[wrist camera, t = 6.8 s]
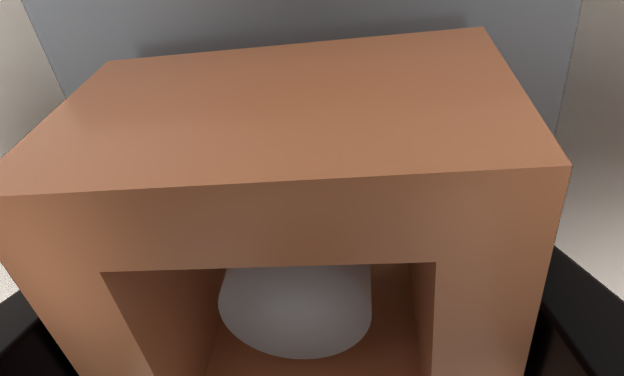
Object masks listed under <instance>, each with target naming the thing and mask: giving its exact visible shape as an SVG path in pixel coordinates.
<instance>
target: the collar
mask: <svg viewBox="0 0 624 376" xmlns="http://www.w3.org/2000/svg"><path fill="white" fill-rule="evenodd" d="M572 166H573V165H572V164H571V162H570V161H569V159H568V158H567V156H566V154H565V153H564V151H563V150H562V148H561V147H560V145H559V144H558V142H557V140H556V139H555V137H554V136H553V134H552V133H551V131H550V130H549V128H548V126H547V125H546V123H545V122H544V120H543V119H542V117H541V116H540V114H539V112H538V111H537V109H536V108H535V106H534V105H533V103H532V102H531V100H530V98H529V97H528V95H527V94H526V92H525V91H524V89H523V88H522V86H521V85H520V83H519V81H518V80H517V78H516V77H515V75H514V74H513V72H512V71H511V69H510V67H509V66H508V64H507V63H506V61H505V60H504V58H503V57H502V55H501V53H500V52H499V50H498V49H497V47H496V46H495V44H494V43H493V41H492V39H491V38H490V36H489V35H488V33H487V32H486V30H485V29H484V27H483V26H482V27H471V28H460V29H449V30H438V31H427V32H416V33H405V34H395V35H384V36H373V37H362V38H351V39H340V40H329V41H318V42H308V43H297V44H286V45H275V46H264V47H253V48H242V49H231V50H220V51H210V52H199V53H188V54H177V55H166V56H155V57H144V58H133V59H122V60H112V61H107V62H106V63H105V64H104V65H103V66H102V67H101V68H100V69H98V70H97V71H96V72H95V73H94V74H93V75H92V76H91V77H90V78H89V79H87V80H86V81H85V82H84V83H83V84H82V85H81V86H80V87H79V88H78V89H77V90H75V91H74V92H73V93H72V94H71V95H70V96H69V97H68V98H67V99H66V100H64V101H63V102H62V103H61V104H60V105H59V106H58V107H57V108H56V109H55V110H54V111H52V112H51V113H50V114H49V115H48V116H47V117H46V118H45V119H44V120H43V121H41V122H40V123H39V124H38V125H37V126H36V127H35V128H34V129H33V130H32V131H31V132H29V133H28V134H27V135H26V136H25V137H24V138H23V139H22V140H21V141H20V142H18V143H17V144H16V145H15V146H14V147H13V148H12V149H11V150H10V151H9V152H8V153H6V154H5V155H4V156H3V157H2V158H1V159H0V262H1V263H2V265H3V266H4V267H5V269H6V270H7V272H8V273H9V275H10V276H11V278H12V279H13V281H14V282H15V283H16V285H17V286H18V288H19V289H20V291H21V292H22V294H23V295H24V296H25V298H26V299H27V301H28V302H29V304H30V305H31V307H32V308H33V309H34V311H35V312H36V314H37V315H38V317H39V318H40V320H41V321H42V322H43V324H44V325H45V327H46V328H47V330H48V331H49V333H50V334H51V335H52V337H53V338H54V340H55V341H56V343H57V344H58V346H59V347H60V349H61V350H62V351H63V353H64V354H65V356H66V357H67V359H68V360H69V362H70V363H71V364H72V366H73V367H74V369H75V370H76V372H77V373H78V375H79V376H523V375H524V371H525V367H526V362H527V358H528V354H529V350H530V345H531V341H532V337H533V332H534V328H535V324H536V320H537V315H538V311H539V307H540V303H541V298H542V294H543V290H544V286H545V281H546V277H547V273H548V269H549V264H550V260H551V256H552V251H553V247H554V243H555V239H556V234H557V230H558V226H559V222H560V217H561V213H562V209H563V205H564V200H565V196H566V192H567V188H568V183H569V179H570V175H571V170H572ZM355 264H370V267H371V302H372V319H371V324H370V327H369V329H368V331H367V333H366V334H365V335H364V337H363V338H362V339H361V340H360V341H359V342H358V343H357V344H355V345H354V346H353V347H351V348H349V349H347V350H346V351H343V352H341V353H339V354H336V355H332V356H329V357H324V358H318V359H290V358H283V357H278V356H274V355H270V354H267V353H264V352H261V351H259V350H257V349H255V348H252V347H251V346H249V345H247V344H245V343H244V342H242V341H241V340H240V339H238V338H237V337H236V336H235V335H234V334H233V333H232V332H231V331H230V330H229V329H228V328H227V327H226V325H225V324H224V322H223V320H222V318H221V316H220V313H219V309H218V298H219V293H220V290H221V287H222V283H223V280H224V277H225V273H226V270H227V268H254V267H288V266H321V265H355Z"/></svg>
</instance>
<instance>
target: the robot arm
mask: <svg viewBox="0 0 624 376" xmlns="http://www.w3.org/2000/svg"><path fill="white" fill-rule="evenodd" d="M0 376H79V375H78V373H77V372H76V370H75V369H74V367H73V366H72V364H71V363H70V362H69V360H68V359H67V357H66V356H65V354H64V353H63V351H62V350H61V349H60V347H59V346H58V344H57V343H56V341H55V340H54V338H53V337H52V335H51V334H50V333H49V331H48V330H47V328H46V327H45V325H44V324H43V322H42V321H41V320H40V318H39V317H38V315H37V314H36V312H35V311H34V309H33V308H32V307H31V305H30V304H29V302H28V301H27V299H26V298H25V296H24V295H23V294H22V292H21V291H20V290H19V291H17V292H16V293H14V294H13V295H11V296H10V297H9V298H7V299H6V300H4V301H3V302H1V303H0ZM523 376H624V301H623V300H622V299H620V298H619V297H618V296H617V295H615V294H614V293H613V292H612V291H611V290H609V289H608V288H607V287H606V286H604V285H603V284H602V283H601V282H599V281H598V280H597V279H596V278H594V277H593V276H592V275H591V274H589V273H588V272H587V271H586V270H584V269H583V268H582V267H581V266H579V265H578V264H577V263H576V262H574V261H573V260H572V259H571V258H570V257H568V256H567V255H566V254H565V253H563V252H562V251H561V250H560V249H558V248H557V247H556V246H555V245H554V247H553V251H552V256H551V260H550V264H549V269H548V273H547V277H546V281H545V286H544V290H543V294H542V298H541V303H540V307H539V311H538V315H537V320H536V324H535V328H534V332H533V337H532V341H531V345H530V350H529V354H528V358H527V362H526V367H525V371H524V375H523Z"/></svg>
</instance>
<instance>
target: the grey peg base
mask: <svg viewBox="0 0 624 376" xmlns="http://www.w3.org/2000/svg"><path fill="white" fill-rule="evenodd" d="M21 1H22V3H23V6H24V8H25V10H26V12H27V14H28V17H29V19H30V21H31V23H32V25H33V28H34V30H35V32H36V34H37V36H38V39H39V41H40V43H41V45H42V47H43V49H44V52H45V54H46V56H47V58H48V60H49V63H50V65H51V67H52V69H53V71H54V74H55V76H56V78H57V80H58V82H59V85H60V87H61V89H62V91H63V93H64V96H65V98H66V99H67V98H68V97H69V96H70V95H71V94H72V93H73V92H74V91H75V90H77V89H78V88H79V87H80V86H81V85H82V84H83V83H84V82H85V81H86V80H87V79H89V78H90V77H91V76H92V75H93V74H94V73H95V72H96V71H97V70H98V69H100V68H101V67H102V66H103V65H104V64H105V63H106V62H107V61H112V60H122V59H133V58H144V57H155V56H166V55H177V54H188V53H199V52H210V51H220V50H231V49H242V48H253V47H264V46H275V45H286V44H297V43H308V42H318V41H329V40H340V39H351V38H362V37H373V36H384V35H395V34H405V33H416V32H427V31H438V30H449V29H460V28H471V27H482V26H483V27H484V29H485V30H486V32H487V33H488V35H489V36H490V38H491V39H492V41H493V43H494V44H495V46H496V47H497V49H498V50H499V52H500V53H501V55H502V57H503V58H504V60H505V61H506V63H507V64H508V66H509V67H510V69H511V71H512V72H513V74H514V75H515V77H516V78H517V80H518V81H519V83H520V85H521V86H522V88H523V89H524V91H525V92H526V94H527V95H528V97H529V98H530V100H531V102H532V103H533V105H534V106H535V108H536V109H537V111H538V112H539V114H540V116H541V117H542V119H543V120H544V122H545V123H546V125H547V126H548V128H549V130H550V131H551V133H552V134H553V136H554V137H555V132H556V127H557V122H558V118H559V113H560V108H561V103H562V98H563V93H564V88H565V83H566V78H567V73H568V68H569V63H570V58H571V54H572V49H573V44H574V39H575V34H576V29H577V24H578V19H579V14H580V9H581V4H582V0H21ZM218 309H219V313H220V316H221V318H222V320H223V322H224V324H225V325H226V327H227V328H228V329H229V330H230V331H231V332H232V333H233V334H234V335H235V336H236V337H237V338H238V339H240V340H241V341H242V342H244V343H245V344H247V345H249V346H251V347H252V348H255V349H257V350H259V351H261V352H264V353H267V354H270V355H274V356H278V357H283V358H290V359H318V358H324V357H329V356H332V355H336V354H339V353H341V352H343V351H346V350H347V349H349V348H351V347H353V346H354V345H355V344H357V343H358V342H359V341H360V340H361V339H362V338H363V337H364V335H365V334H366V333H367V331H368V329H369V327H370V324H371V319H372V302H371V267H370V264H355V265H321V266H288V267H254V268H227V270H226V273H225V277H224V280H223V283H222V287H221V290H220V293H219V298H218Z"/></svg>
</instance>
